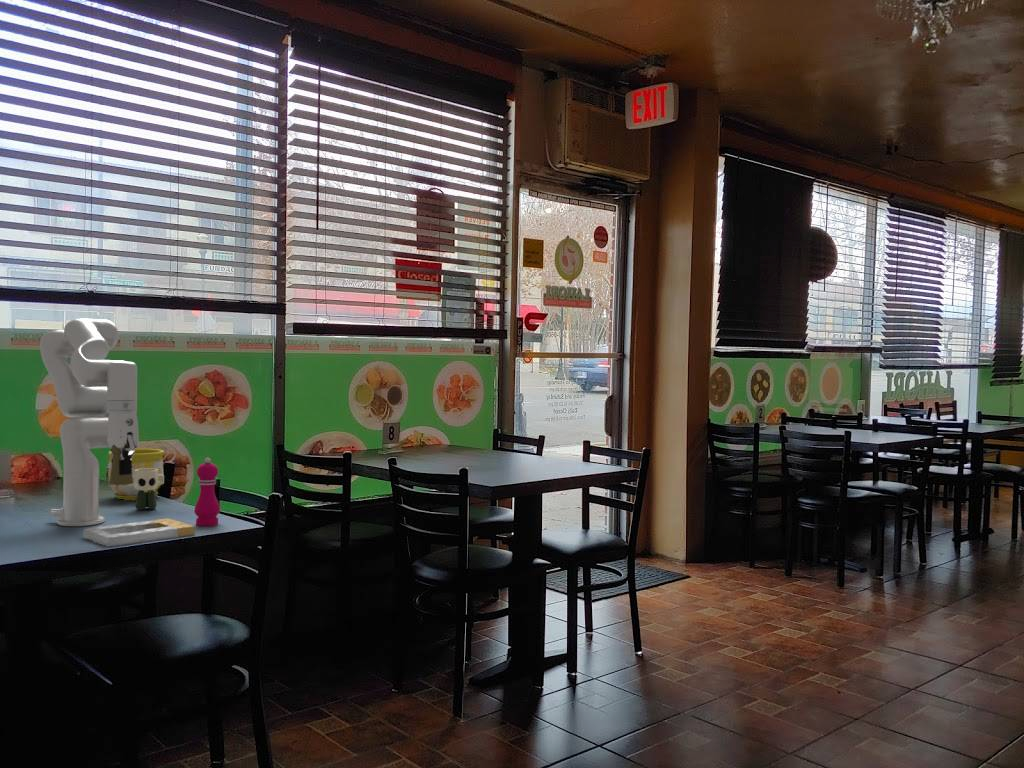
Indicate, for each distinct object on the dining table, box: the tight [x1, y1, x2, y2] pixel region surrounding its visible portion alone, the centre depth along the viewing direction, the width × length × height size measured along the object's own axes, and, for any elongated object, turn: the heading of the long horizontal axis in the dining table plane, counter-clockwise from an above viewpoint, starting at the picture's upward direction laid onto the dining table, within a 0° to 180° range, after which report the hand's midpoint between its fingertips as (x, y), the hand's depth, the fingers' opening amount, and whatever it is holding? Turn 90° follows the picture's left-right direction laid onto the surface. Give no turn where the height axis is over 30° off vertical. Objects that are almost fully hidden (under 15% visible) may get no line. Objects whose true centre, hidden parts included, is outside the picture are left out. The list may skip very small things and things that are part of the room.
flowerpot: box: [107, 448, 165, 501], centre depth 308 cm, size 18×18×16 cm
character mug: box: [128, 468, 165, 510], centre depth 286 cm, size 11×7×13 cm, turn 118°
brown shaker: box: [109, 445, 133, 485], centre depth 240 cm, size 6×6×11 cm
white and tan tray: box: [82, 518, 196, 548], centre depth 245 cm, size 24×16×2 cm, turn 137°
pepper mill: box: [194, 457, 221, 527], centre depth 263 cm, size 7×7×20 cm
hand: (121, 472), depth 241 cm, fingers closed on brown shaker, 4 cm apart
